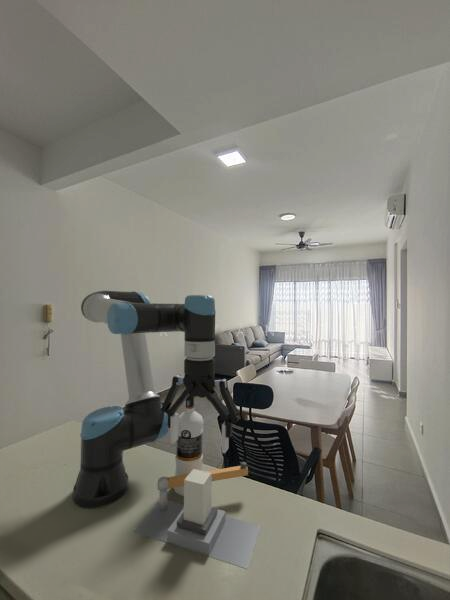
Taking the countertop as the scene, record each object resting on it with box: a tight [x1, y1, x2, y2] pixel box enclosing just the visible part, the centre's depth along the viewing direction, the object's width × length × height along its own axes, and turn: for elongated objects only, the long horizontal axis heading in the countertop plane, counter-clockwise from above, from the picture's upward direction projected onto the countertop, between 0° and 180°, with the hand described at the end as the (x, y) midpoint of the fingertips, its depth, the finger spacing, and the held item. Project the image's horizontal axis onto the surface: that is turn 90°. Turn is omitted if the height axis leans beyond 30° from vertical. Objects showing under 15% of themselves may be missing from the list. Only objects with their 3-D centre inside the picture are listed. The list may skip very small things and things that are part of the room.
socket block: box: [133, 490, 262, 570], centre depth 69 cm, size 28×12×6 cm, turn 70°
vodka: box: [173, 395, 204, 497], centre depth 86 cm, size 9×9×30 cm
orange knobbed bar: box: [157, 461, 249, 492], centre depth 80 cm, size 26×3×3 cm, turn 107°
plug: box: [177, 469, 219, 535], centre depth 69 cm, size 7×7×13 cm
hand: (198, 445), depth 69 cm, fingers open, 13 cm apart
